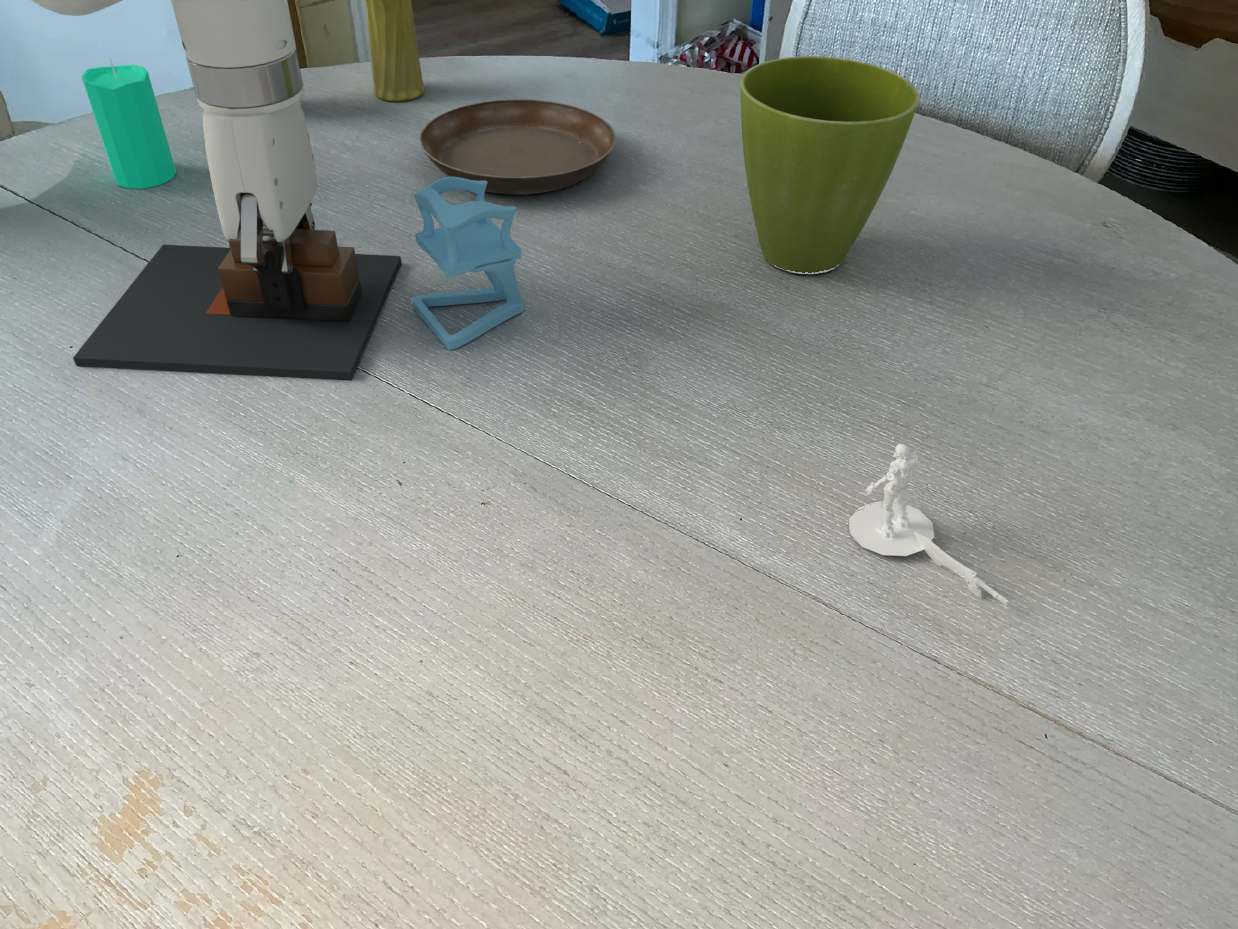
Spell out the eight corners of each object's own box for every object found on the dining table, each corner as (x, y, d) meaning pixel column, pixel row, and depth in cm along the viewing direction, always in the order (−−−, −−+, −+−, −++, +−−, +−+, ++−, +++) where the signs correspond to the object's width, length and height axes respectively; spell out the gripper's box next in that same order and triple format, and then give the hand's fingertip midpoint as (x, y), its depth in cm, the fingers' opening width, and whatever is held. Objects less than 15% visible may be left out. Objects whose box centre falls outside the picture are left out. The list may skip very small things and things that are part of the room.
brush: (230, 316, 84) (210, 246, 80) (247, 288, 87) (230, 219, 83) (349, 321, 84) (336, 251, 79) (362, 293, 87) (350, 224, 83)
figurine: (885, 502, 71) (896, 408, 67) (1033, 592, 64) (1058, 493, 59) (829, 537, 69) (836, 442, 64) (976, 636, 61) (997, 536, 56)
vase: (363, 91, 123) (345, -35, 113) (405, 79, 126) (391, -45, 117) (393, 106, 120) (376, -23, 110) (435, 93, 123) (422, -33, 114)
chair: (538, 323, 86) (534, 192, 78) (448, 351, 82) (434, 217, 74) (497, 282, 91) (489, 154, 83) (411, 306, 87) (394, 176, 79)
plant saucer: (487, 110, 119) (486, 82, 117) (646, 147, 113) (647, 118, 111) (383, 179, 105) (379, 149, 103) (557, 225, 99) (557, 194, 96)
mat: (75, 365, 80) (72, 357, 79) (165, 251, 93) (162, 243, 93) (352, 380, 79) (350, 371, 79) (401, 263, 93) (400, 255, 92)
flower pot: (744, 206, 103) (763, 45, 92) (892, 233, 99) (929, 69, 88) (704, 278, 92) (720, 104, 81) (868, 311, 88) (907, 134, 78)
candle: (102, 184, 103) (62, 65, 95) (136, 159, 107) (101, 44, 99) (155, 192, 102) (118, 72, 94) (187, 166, 106) (155, 50, 98)
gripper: (235, 34, 79) (282, 243, 91) (148, 120, 67) (216, 350, 79) (330, 37, 79) (364, 246, 91) (261, 125, 66) (312, 354, 78)
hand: (295, 292), depth 85 cm, fingers closed on brush, 4 cm apart
